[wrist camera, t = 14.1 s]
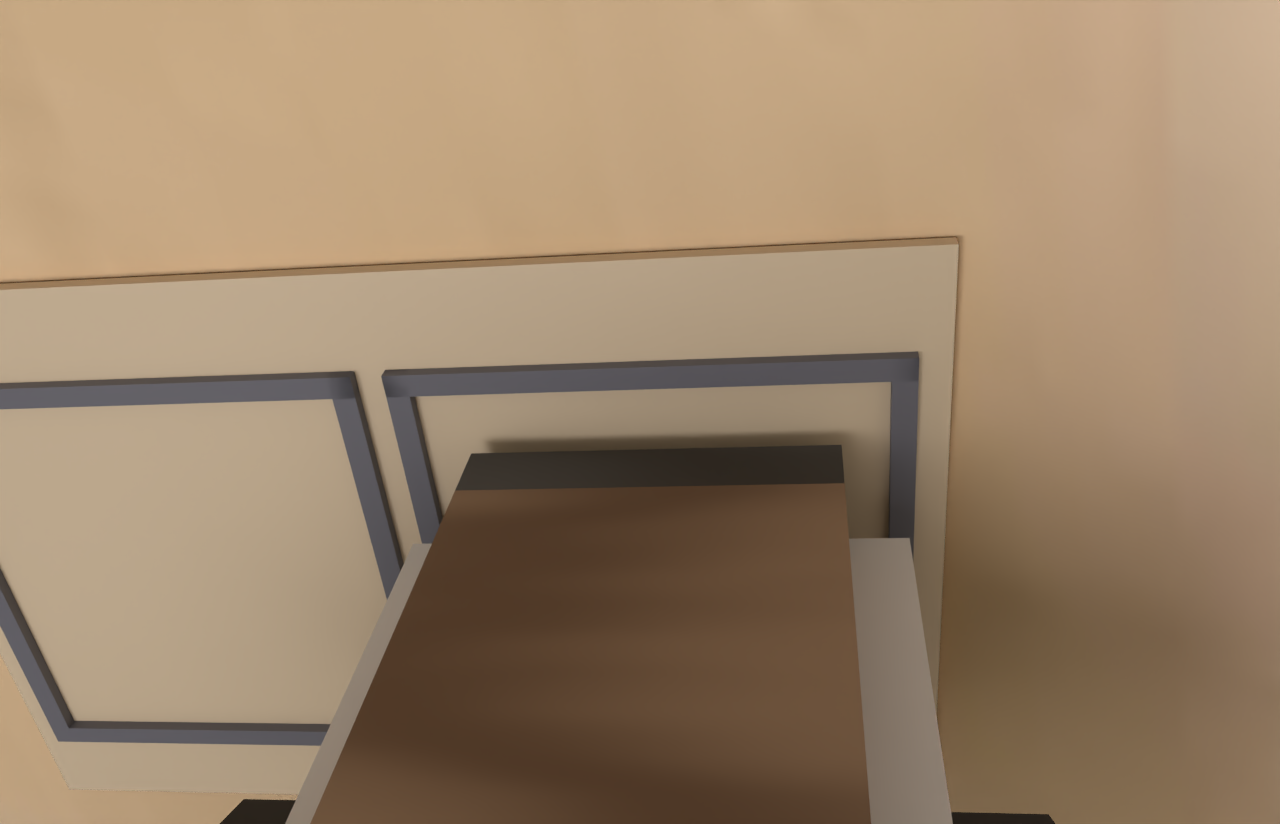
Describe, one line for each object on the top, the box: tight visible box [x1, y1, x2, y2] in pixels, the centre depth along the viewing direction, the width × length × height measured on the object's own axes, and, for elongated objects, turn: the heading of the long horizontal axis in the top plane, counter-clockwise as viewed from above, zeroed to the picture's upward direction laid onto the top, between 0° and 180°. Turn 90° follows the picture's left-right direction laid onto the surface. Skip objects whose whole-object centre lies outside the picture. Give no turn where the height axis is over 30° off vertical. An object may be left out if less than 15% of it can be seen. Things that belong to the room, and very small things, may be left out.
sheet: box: [0, 237, 959, 795], centre depth 16 cm, size 14×9×1 cm, turn 96°
